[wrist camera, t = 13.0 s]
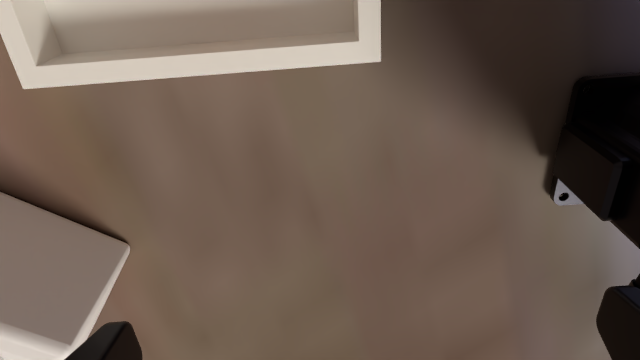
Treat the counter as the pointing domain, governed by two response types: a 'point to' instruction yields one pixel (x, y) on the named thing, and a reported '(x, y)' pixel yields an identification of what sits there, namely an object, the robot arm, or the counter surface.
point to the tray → (182, 37)
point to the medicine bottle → (51, 281)
